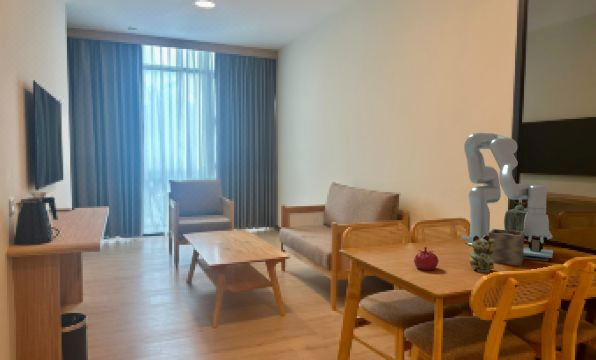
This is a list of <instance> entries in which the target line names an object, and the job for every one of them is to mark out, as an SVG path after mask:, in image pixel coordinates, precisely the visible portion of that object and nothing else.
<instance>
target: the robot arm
mask: <svg viewBox="0 0 596 360" xmlns="http://www.w3.org/2000/svg"><path fill="white" fill-rule="evenodd" d="M463 146H464V153H465V156H466V157H465V158H466V161H467V170H468V178H469V181H470V182H471V183H472V184H476V185H477V186H474V187H472V188H471V189H470V190H469V192H468V200H469V201H468V202H469V206H470V214H469V215H470V217H469V218H470V219H469V221H470V223H469V226H470V227H469V235H468V236H466V235H461V240H463V241H464V240H465V241H466V245H467V246H471V247H473V246H472V242H473V237H474V236H478V237H479V239H482V238H483V237H484V236H485V235H488V236H489V232H490V231H491V230H490V225H491V223H490V220H491V217H490V216H491V215H490V213H491V212H490V208H489V206H488V204H495V203H498V202H499V201H500V199H501V197H502V196H501V194H502V192H501V190H502V191H503V193H504V195H505V197H507V198H508V199H509V200H512V201H513V200H514V201H516V200H517V201H518V200H519V201H520V200H525V199H526V200H527V207H526V208H524V211H526V212H527V214H525V219H524V229H523V231H524V239H525V240H527V242H528V248H530V251H531V250H532V240H533V239H532V238H533V237H539V240H540V243H539V251H540V252H541V250H543V249H544V243H545V242H546V241H547V240H551V239H552V238H553V235H552V233H551V232H550V225H549V224H550V222H549V215H548V214H547V191H548V190H547V189H548V188H547V186H546V185H542V184H530V183H516V181H515V179H514V177H513V170H514V169H515V168H516V167H517V166H518V163H519V162H518V160H517V158H516V156H515V155H514V154H515V153H516V152H517V150H518V143H517V142H516V140H515V139H513V138H511V137H508V136H505V135H501V134H498V133H493V132H492V133H491V132H490V133H489V132H476V133H475V132H474V133H471V134H470V135H468V136H467V137H466V139H465V142H464V144H463ZM481 149H482V150H490V152H491V154H492V156H493V157H494V160H495V161H496V164H497V165H498V168H499V170H500V171H499V173H498V171H497V169H495V168H494V167H493V166H489V165H486V163H485V158H484V155H483V153H482V152H481ZM527 235H528V236H529V237H528V236H527ZM531 239H532V240H531Z"/></svg>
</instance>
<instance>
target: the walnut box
mask: <svg viewBox="0 0 596 360" xmlns="http://www.w3.org/2000/svg"><path fill="white" fill-rule="evenodd" d="M501 233H506V234H501ZM509 234H513V235H509ZM489 239H494V240H495V242H494V243H493V248H494V252H493V253H492V254H491V255H490V258H492V259H494V261H495V263H496V264H506V265H513V266H522V264H523V262H524V259H523V255H524V247H525V246H524V245H525V244H524V243H525V238H524V231H512V230H505V229H501V228H500V229H498V228H497V229H496V228H492V229H491V230H489ZM495 263H494V264H495Z"/></svg>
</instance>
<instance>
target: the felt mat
mask: <svg viewBox="0 0 596 360" xmlns="http://www.w3.org/2000/svg"><path fill="white" fill-rule="evenodd" d="M524 259H525V260H533V261H542V262H548V261H549V258H548V257H538V256H529V255H523V260H524Z"/></svg>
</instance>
